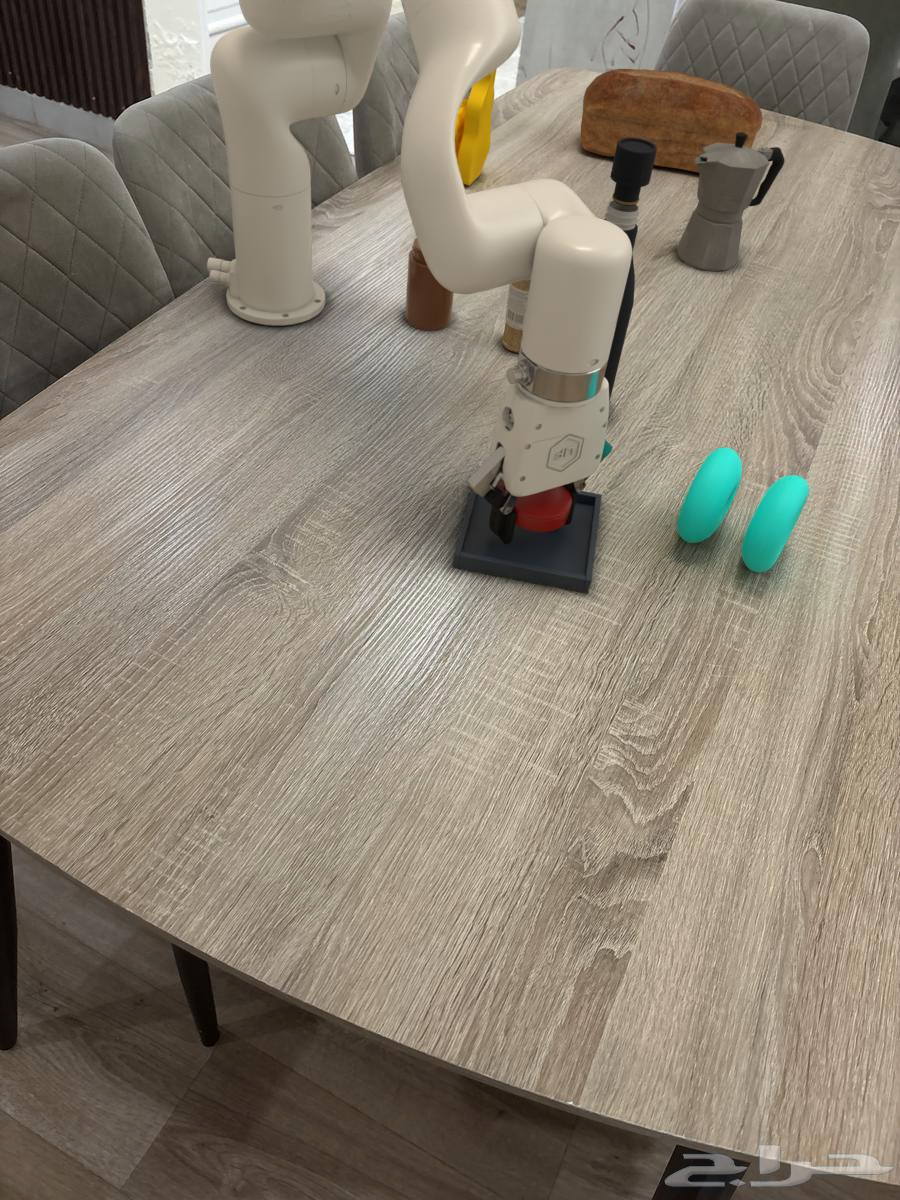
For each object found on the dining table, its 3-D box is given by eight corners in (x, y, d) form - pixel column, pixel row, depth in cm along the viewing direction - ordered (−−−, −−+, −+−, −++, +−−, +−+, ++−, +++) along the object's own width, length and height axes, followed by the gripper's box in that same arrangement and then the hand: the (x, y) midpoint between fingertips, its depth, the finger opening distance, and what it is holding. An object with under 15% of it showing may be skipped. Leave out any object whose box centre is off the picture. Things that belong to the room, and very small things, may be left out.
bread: (744, 187, 163) (770, 104, 153) (570, 155, 166) (584, 71, 157) (747, 162, 171) (771, 82, 161) (581, 132, 175) (595, 51, 165)
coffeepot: (686, 277, 137) (722, 149, 124) (652, 248, 143) (684, 122, 130) (771, 265, 142) (814, 141, 129) (735, 238, 148) (773, 116, 135)
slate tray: (452, 567, 90) (453, 554, 89) (475, 483, 99) (476, 471, 98) (588, 593, 89) (591, 580, 88) (598, 506, 98) (601, 494, 97)
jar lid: (579, 508, 93) (583, 493, 91) (550, 541, 88) (554, 526, 87) (521, 481, 95) (525, 466, 93) (490, 513, 90) (493, 497, 89)
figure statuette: (459, 155, 162) (472, 9, 146) (502, 165, 160) (520, 19, 145) (421, 192, 150) (431, 37, 134) (467, 203, 148) (482, 48, 133)
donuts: (757, 596, 91) (793, 518, 84) (662, 553, 94) (689, 474, 87) (788, 540, 97) (824, 463, 90) (699, 502, 100) (726, 425, 93)
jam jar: (402, 327, 120) (406, 251, 113) (407, 304, 125) (412, 230, 117) (449, 332, 120) (456, 257, 113) (452, 309, 125) (459, 235, 117)
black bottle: (611, 402, 112) (675, 140, 91) (600, 430, 108) (664, 163, 87) (560, 388, 114) (611, 127, 92) (546, 416, 109) (597, 149, 88)
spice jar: (543, 349, 120) (561, 247, 110) (514, 357, 118) (530, 255, 108) (522, 332, 122) (537, 231, 112) (493, 340, 120) (507, 238, 110)
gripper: (497, 414, 75) (474, 574, 88) (666, 371, 82) (621, 525, 95) (452, 366, 79) (436, 526, 92) (615, 329, 86) (579, 482, 99)
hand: (530, 524), depth 93 cm, fingers closed on jar lid, 6 cm apart
